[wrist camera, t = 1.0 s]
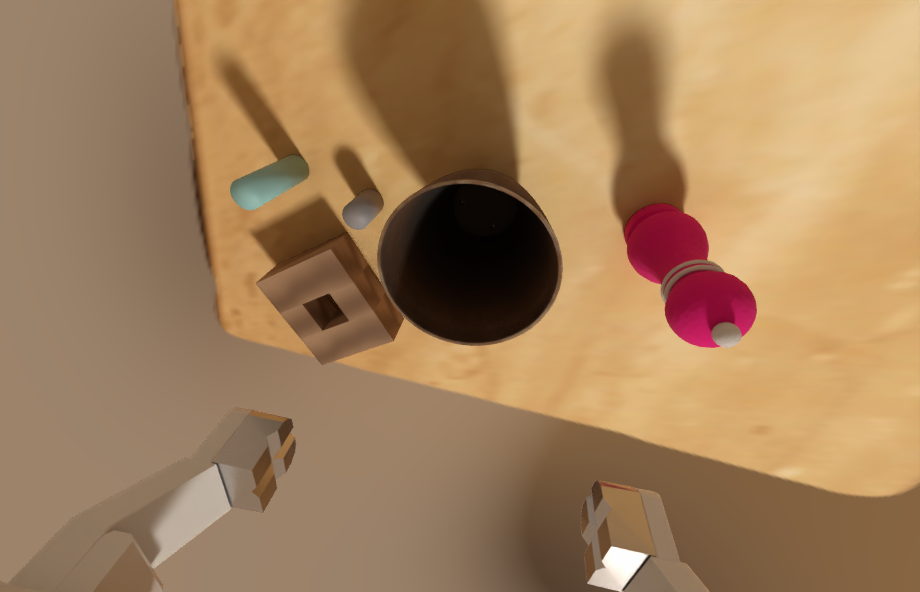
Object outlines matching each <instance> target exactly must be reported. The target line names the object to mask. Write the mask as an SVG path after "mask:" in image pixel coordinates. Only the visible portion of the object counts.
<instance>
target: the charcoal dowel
mask: <svg viewBox="0 0 920 592" xmlns="http://www.w3.org/2000/svg"><path fill="white" fill-rule="evenodd" d="M383 205H384V202H383V198H382V196H381V195H380V194H379V193H378V192H377V191H375V190H373V189H366V190H364V191H362V192H361V193H360V194H359V195H358V196H356V197H355V198H354V199H353V200H352V201H351V202H350V203H348V204H347V205H346V206H345V207H344V209H343V213H342V215H343V219H344V221H345V223H346V224H347V225H348V226H349V227H351V228H353V229H356V230H361V229H364V228H365V227H367V225H368V224H369V223H370V222H371V221H372V220H373V219H374V218H375V217H376V216H377V214H378V213H379V212H380V211H381V210H382V208H383Z"/></svg>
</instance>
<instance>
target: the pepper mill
mask: <svg viewBox="0 0 920 592" xmlns="http://www.w3.org/2000/svg"><path fill="white" fill-rule="evenodd" d="M625 241H626V244H627V254H628V259H629V261H630V263H631V265H632V266H633V268H634V269H635V270H636V271H637V272H638V273H639V274H640V275H641V276H643V277H644V278H646V279H648V280H650V281H651V282H655V283H658V284H661V296H662V298H663V300H664V302H665V316H666V319H667V322H668V324H669V326H670V327H671V329H672V330H673V331H674V332H675V333H676V334H677V335H678V336H679V337H680V338H681V339H683V340H684V341H686V342H688V343H690V344H693V345H696V346H699V347H710V348H714V347H726V348H728V347H733V346H735V345H737V344H738V343H739V342H740V340H741V337H742V336H744V335H745V334H746V333H747V332H748V331H749V329H750V328H751V327H752V325H753V323H754V321H755V318H756V313H757V309H756V301H755V298H754V296H753V294H752V292H751V291H750V289H749V288H748V286H747V285H746V284H745V283H743V282H742V281H741V280H739V279H738V278H737V277H735V276H733V275H731V274H728V273H725V272H724V270H723V269H722V268H721V267H720V266H719V265H717V264H715V263H714V262H711V261H708V260H707V258H708V251H709V245H708V240H707V236H706V233H705V231H704V230H703V228H702V226H701V225H700V224H699V222H698V221H697V220H695V219H694V218H693V217H691V216H689V215H687V214H685V213H682V212H681V211H680V210H678V209H677V208H675V207H674V206H671V205H668V204H652V205H649V206H646V207H644V208H642V209H640V210H639V211H637V212H636V213H635V214H634V215H633V216H632V217H631V218H630V220H629V221H628V223H627V226H626V228H625Z"/></svg>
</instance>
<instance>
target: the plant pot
mask: <svg viewBox="0 0 920 592" xmlns="http://www.w3.org/2000/svg"><path fill="white" fill-rule="evenodd" d="M497 190H500V191H502V192H500V193H499V192H498V191H497ZM461 200H464V204H463V203H461ZM492 224H494V225H495V226H494V228H490V225H492ZM377 260H378V270H379V275H380V279H381V282H382V285H383V287H384V289H385V292H386V294H387V296H388V297H389V299H390V301H391V302H392V304H393V305H394V306H395V308H396V309H397V310H398V311H399V312H400V313H401V314H402V315H403V316H404V317H405V318H406V319H407V320H408V321H409V322H410V323H412V324H413V325H414V326H416V327H417V328H418V329H420V330H422V331H423V332H425V333H427V334H429V335H431V336H433V337H435V338H438V339H441V340H443V341H447V342H451V343H455V344H460V345H470V346H481V345H491V344H496V343H501V342H505V341H508V340H510V339H513V338H515V337H517V336H519V335H521V334H523V333H525V332H527V331H528V330H530V329H531V328H533V327H534V326H535V325H536V324H537V323H538V322H539V321H540V320H541V319H542V318H543V317H544V316H545V315H546V314H547V312H548V311H549V310H550V308H551V306H552V305H553V303H554V301H555V299H556V297H557V294H558V292H559V289H560V285H561V280H562V272H563V267H562V255H561V250H560V247H559V243H558V241H557V238H556V236H555V234H554V232H553V230H552V227H551V225H550V224H549V222H548V220H547V218H546V216H545V215H544V213H543V211H542V210H541V208H540V207H539V205H538V204H537V203H536V201H535V200H534V199H533V197H532V196H531V195H530V194H529V193H528V192H527V191H526V190H525V189H524V188H523V187H522V186H521V185H520V184H518V183H517V182H516V181H514V180H513V179H511V178H510V177H508V176H506V175H504V174H502V173H499V172H496V171H492V170H485V169H472V170H464V171H459V172H456V173H452V174H450V175H447V176H444V177H442V178H440V179H438V180H436V181H434V182H432V183H430V184H429V185H427V186H425V187H424V188H422V189H420V190H419V191H417V192H416V193H414V194H413V195H411V196H409V197H408V198H407V199H406V200H404V201H403V202H402V203H401V204H400V205H399V206H398V207H397V208H396V209H395V210H394V211H393V213H392V214H391V216H390V217H389V219H388V220H387V222H386V224H385V226H384V228H383V230H382V233H381V236H380V240H379V245H378V254H377Z"/></svg>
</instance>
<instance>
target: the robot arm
mask: <svg viewBox="0 0 920 592" xmlns="http://www.w3.org/2000/svg"><path fill="white" fill-rule="evenodd" d="M292 429H293V422H292V419H290V418H286V417H281V416H276V415H272V414H267V413H263V412H258V411H255V410H250V409H245V408H240V407H235V408H233V409H232V410H230V411H229V412H228V413H227V414H226V416H225V417H224V418H223V419H222V420H221V422H220V423H219V424H218V425H217V427H216V428H215V429H214V430H213V431H212V432H211V434H210V435H209V436H208V437H207V439H206V440H205V441H204V442H203V443H202V445H201V446H200V447H199V448H198V450H197V451H196V452H195V453H194V454H193V456H192V457H191V458H186V457H184V458H182V459H181V460H179V461H177V462H175V463H173V464H171V465H169V466H167V467H166V468H164V469H162V470H160V471H158V472H156V473H154V474H153V475H151V476H149V477H147V478H145V479H143V480H141V481H139V482H138V483H136V484H134V485H132V486H130V487H128V488H127V489H125V490H123V491H121V492H119V493H117V494H115V495H113V496H111V497H110V498H108V499H106V500H104V501H102V502H100V503H99V504H97V505H95V506H93V507H91V508H89V509H87V510H85V511H83V512H82V513H80V514H78V515H76V516H74V517H72V518H71V519H70V520H69V521H68V522H67V523H66V524H65V525H64V526H63V527H62V528H61V529H60V530H59V531H58V532H57V533H56V534H55V535H54V537H52V538H51V539H50V540H49V541H48V542H47V543H46V544H45V545H44V546H43V547H42V548H41V550H40V551H39V552H38V553H37V554H36V555H35V556H34V557H33V558H32V559H31V560H30V561H29V562H28V563H27V564H26V565H25V566H24V567H23V568H22V569H21V570H20V571H19V572H18V573H17V574H16V575H15V576H14V577H13V578H12V579H11V580H10V581H9V582H8V583H5V582H1V581H0V592H163V584H162V582H161V581H160V579H159V577H158V576H157V574H156V573H155V571H154V570H153V569H154V568H155V567H156V566H158V565H159V564H160V563H162V562H163V561H164V560H166V559H167V558H168V557H169V556H171V555H172V554H173V553H175V552H176V551H177V550H178V549H180V548H181V547H182V546H184V545H185V544H186V543H187V542H189V541H190V540H191V539H193V538H194V537H195V536H196V535H198V534H199V533H200V532H202V531H203V530H204V529H205V528H207V527H208V526H210V525H211V524H212V523H213V522H215V521H216V520H217V519H218V518H220V517H221V516H222V515H224V514H225V513H226V512H228V511H229V510H230V509H231V507H235V508H240V509H246V510H251V511H256V512H262V513H263V512H264V510H265V509H266V507H267V505H268V504H269V502H270V500H271V498H272V497H273V495H274V493H275V491H276V489H277V484H276V479H277V478H279V477H281V476H282V475H283V474H285V473H286V472H287V470H288V468H289V466H290V465H291V463H292V460H293V457H294V454H295V449H296V440H295V437H294V436H293V435H292V434H291V433H290V432H291V430H292ZM591 490H592V495H591V496H589V497H587V498H586V499H585V501H584V504H583V507H582V512H581V532H582V537H583V538H584V539H585V541H586V542H587V544H588V545H589V546H588V548H587V550H586V551H585V553H584V558H585V568H586V576H587V583H588V584H592V585H596V586H600V587H604V588H608V589H612V590H616V591H620V592H709V591H708V589H707V588H706V587H705V586H704V585H703V583H702V582H701V581H700V579H699V578H698V577H697V576H696V575H695V573H694V572H693V571H692V570H691V569H690V567H689V566H688V565H687V564H685V563H681V562H680V559H679V556H678V553H677V550H676V546H675V543H674V539H673V536H672V533H671V530H670V526H669V523H668V520H667V517H666V513H665V510H664V507H663V503H662V500H661V497H660V496H659V494H658V493H656V492H653V491H648V490H642V489H637V488H635V487H630V486H625V485H619V484H614V483H609V482H603V481H596V482H594V484H593V486H592V487H591Z"/></svg>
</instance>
